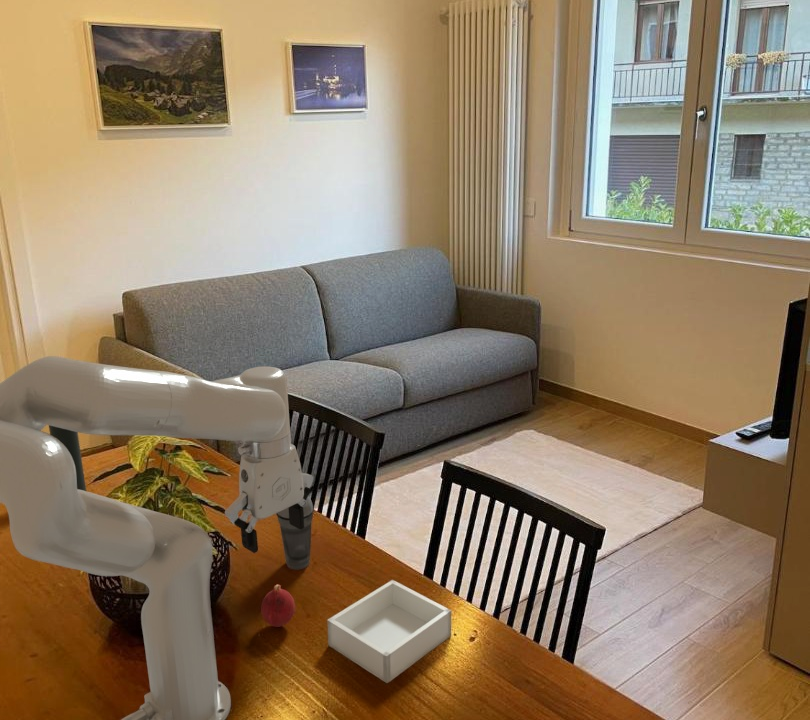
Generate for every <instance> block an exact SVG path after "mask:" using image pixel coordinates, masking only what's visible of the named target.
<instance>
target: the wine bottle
mask: <svg viewBox="0 0 810 720" xmlns="http://www.w3.org/2000/svg"><path fill="white" fill-rule="evenodd" d="M48 428H49V434H50V435H52V436H53V437H55V438H57V439H58V440H59V441H60V442H61V443H63V445H64V446H65V447H66V448H67V449H68V451H69V453H70V454H71V456H72V459H73V461H74V464H75V468H76V477H77V489H79V490H84V491H87V488H86V480H85V473H84V467H83V461H82V460H83V459H82V453H81V448H80V441H79V432H75V431H71V430H67V429H63V428H58V427H55V426H50V425H48Z"/></svg>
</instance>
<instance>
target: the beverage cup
mask: <svg viewBox="0 0 810 720" xmlns="http://www.w3.org/2000/svg"><path fill="white" fill-rule="evenodd" d="M303 511H304V528H303V529H298V528H296V527H294V526H293V525H291V524H290V523H289V509H288V508H287V509H284V510H282V511H280V512H278V513H276V514H275V515H276V517H277V521H278V524H279V527H280V533H281V540H282V541H281V542H282V547H283V552H284V553H283V554H284V557H285V561H286V567H288V569H291V570H303V569H306V568H307V567H308V566H309V565H310V562H311V561H310V560H311V547H312V546H311V545H312V521H313V518H314V512H315V509H314V505H313V502H312V500H311V498H310V496H308V497H307V499H306V505H305V506H304V507H303Z"/></svg>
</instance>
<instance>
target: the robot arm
mask: <svg viewBox="0 0 810 720" xmlns="http://www.w3.org/2000/svg"><path fill="white" fill-rule="evenodd" d="M288 393H289V392H288V382H287V376H286V374H285V372H284V371H283V370H282V369H280V368H278V367H275V366H274V367H273V366H269V365H268V366H264V365H263V366H255V367H251V368H248V369H246V370H243V372H242V373H240V374H238V375H234V376H230V377H226V378H220V379H216V380H211V381H210V380H207V379H206V380H205V379H203V378H199V377H195V376H191V375H186V374H183V373H175V372H171V371H164V370H154V369H146V368H145V369H144V368H136V367H127V366H120V365H112V364H104V363H98V362H89V361H85V360H79V359H74V358H67V357H61V356H56V355H55V356H54V355H52V356H45V357H41V358H37V359H35V360H34V361H31V362H30V363H28V364H26V365H24V366H23V367H21V368H20V369H19V370H17V371H15V372H14V373H12V374H11V375H9V377H7V378H5V380H3V381H1V382H0V504H3V505H4V506H5V508H6V510H7V513H8V520H9V530H10V535H11V539H12V543H13V545H14V548H15V549H16V551H17V552H19V554H20V555H21V556H23V557H25V558H27V559H30V560H33V561H36V562H41V563H46V564H51V565H56V566H59V567H63V568H67V569H71V570H72V569H73V570H77V571H80V572H84V573H88V574H91V575H96V576H101V577H116V576H117V577H118V576H123V577H125V578H126V577H127V578H130V579H131V580H134V581H136V582H140V583H141V584H144V585H145V586H146V587H147V588H148V590H149V592H148V593H149V594H148V596H147V598H146V600H145V601H144V603H143V605H142V606H141V611H140V613H141V614H140V621H141V622H140V624H141V629H142V635H143V637H142V638H143V643H144V650H145V660H146V666H147V674H148V681H149V689H150V691H149V692H147V693H146V694H144V703H143V704H141V705H140V706H139V709H138V710H137V711H134V712H132V713H130V714H129V715H126V716H125V717H123V718H121V719H120V720H226V719H227V717H228V716H229V715H230V714H229V713H230V711H231V707H232V699H231V694H230V691H229V689H228V687H226V686H225V684H223V683H222V682H221V681H219V679H218V670H217V669H218V668H217V658H216V648H215V640H214V639H215V637H214V628H213V617H212V616H213V615H212V608H211V606H212V605H211V595H210V592H211V591H210V581H211V580H210V579H211V570H212V563H213V544H212V543H213V542H212V540H211V538H210V536H209V534H208V533H207V532H206V531H205V530H204V529H203V528H202V527H200V525H197V524H196V523H193V522H191V521H189V520H187V519H184V518H180V517H177V516H174V515H170V514H166V513H163V512H158V511H154V510H152V509H148V508H144V507H140V506H138V505H133V504H130V503H127V502H123V501H119V500H116V499H114V498H110V497H107V496H104V495H101V494H97V493H94V492H91V491H87V490H86V491H84V490H79V489H77V477H76V468H75V464H74V461H73V459H72V456H71V454H70V453H69V451H68V449H67V448H66V447H65V446H64V445H63V443H61V442H60V441H59V440H58V439H57V438H55V437H53V436H52V435H50V433H48V432H45V431H43V429H44V428H45V427H46V426H49V425H50V426H55V427H58V428H63V429H67V430H71V431H75V432H78V434H86V435H94V436H95V435H96V436H104V435H105V436H147V437H148V436H150V437H151V436H155V437H156V436H157V437H170V438H178V439H202V440H205V439H206V440H216V441H217V440H218V441H229V442H242V445H241V446H239V447H237V452H238V454H239V455H240V456H241V458H240V463H239V476H238V480H239V481H238V488H239V490H238V491H239V493H238V494H239V496H238V497H237V498H236V499H235V500H234V501H233V502H232V503H231V504H230V505H229V506H228V507H227V509H225V511H224V515H225V516H226V517H227V519H228V520H229V521H230V523H231V524H232V525H233V526H236V527H238V528H239V529H240V535H241V544H242V547H243V548H245V549H246V550H248V551H249V552H250V553H253V554H256V553H257V552H258V551H259V543H258V533H257V530H256V529H254V528H255V526H256V524H257V522H258V521H259V520H265V519H266V518H267V519H268V518H269V517H271V516H274V515H276V513H278V512H280V511H282V510H284V509H287V508H288V509H289V523H290V524H291V525H293V526H294V527H296V528H298V529H303V528H304V511H303V507H304V506H305V505H306V499H307V497H309V495H310V493H311V488H312V485H313V482H314V475H311V474H309V473H304V472H303V471H302V465H301V462H300V458H299V454H298V451H297V449H296V446H295V445H294V444H292V441H291V440H292V439H291V426H290V423H291V422H290V413H289V412H290V411H289V409H290V408H289V394H288ZM240 511H242V513H241V515H240V516H239V512H240ZM247 521H248V522H247Z"/></svg>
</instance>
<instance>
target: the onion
mask: <svg viewBox="0 0 810 720" xmlns="http://www.w3.org/2000/svg"><path fill="white" fill-rule="evenodd" d="M281 586H282V585H280V584H276V585H274V586H273V589H272V590H271V591H269V592H267V593H266V595H265V596H264V598H263V599H262V601H261V608H260V609H261V610H260V612H261V616H262V618H263V620H265V622H266V623H267V624H269V625H270V626H272V627H277V628H278V627H279V628H281V627H283V626H285V625H287V624H288V623H289V622H290V621H291V620H292V618H293V617H294V615H295V613H296V604H295V602H296V601H295V599H294V597H293V595H292V594H290V592H289V591H288V590H287V589H283V588H281Z"/></svg>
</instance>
